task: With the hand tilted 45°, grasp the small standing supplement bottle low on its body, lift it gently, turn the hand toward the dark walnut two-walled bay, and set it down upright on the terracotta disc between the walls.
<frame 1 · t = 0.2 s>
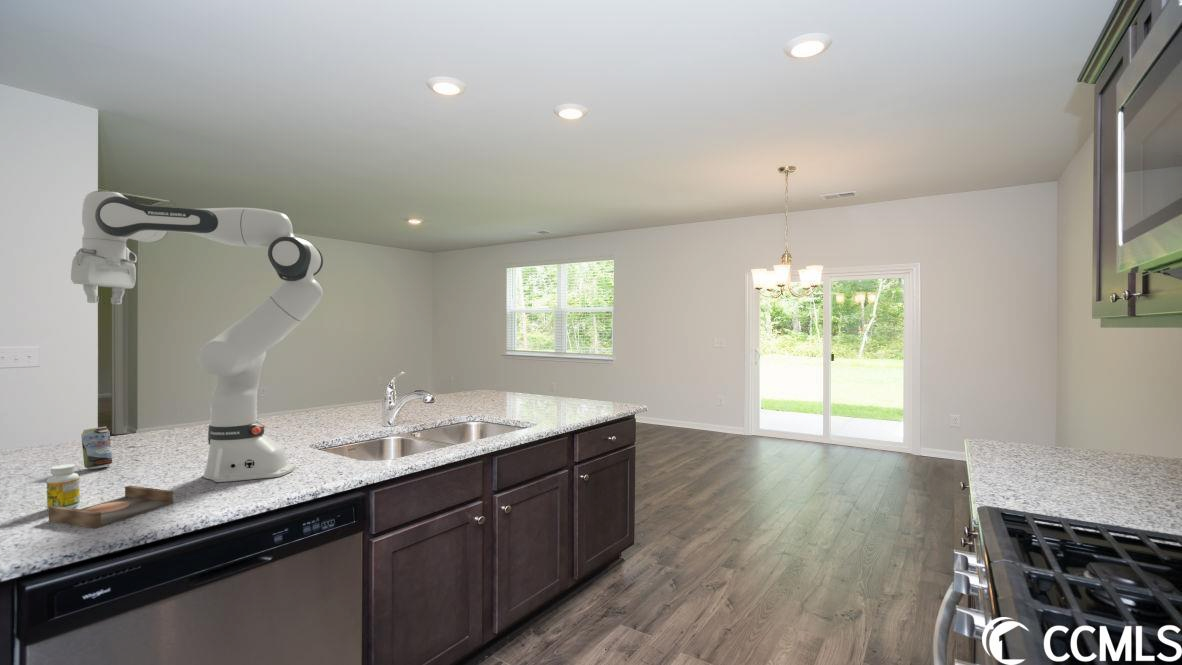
hand: (105, 303, 145), 48 cm above the counter, tool pointing down, fingers open, 8 cm apart
supplement bottle: (63, 508, 124), on the counter
walled bay: (113, 511, 122), on the counter
beverage can: (97, 468, 156), on the counter
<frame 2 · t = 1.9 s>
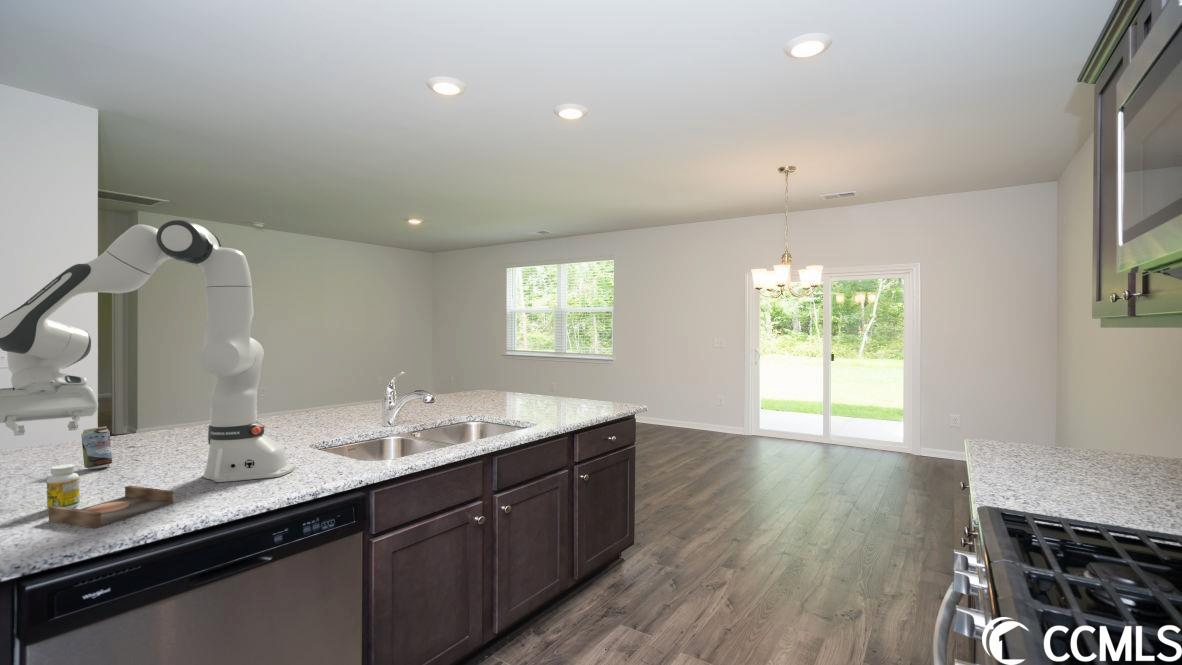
hand: (47, 431, 131), 16 cm above the counter, tool tilted 45°, fingers open, 8 cm apart
nothing on the counter moved.
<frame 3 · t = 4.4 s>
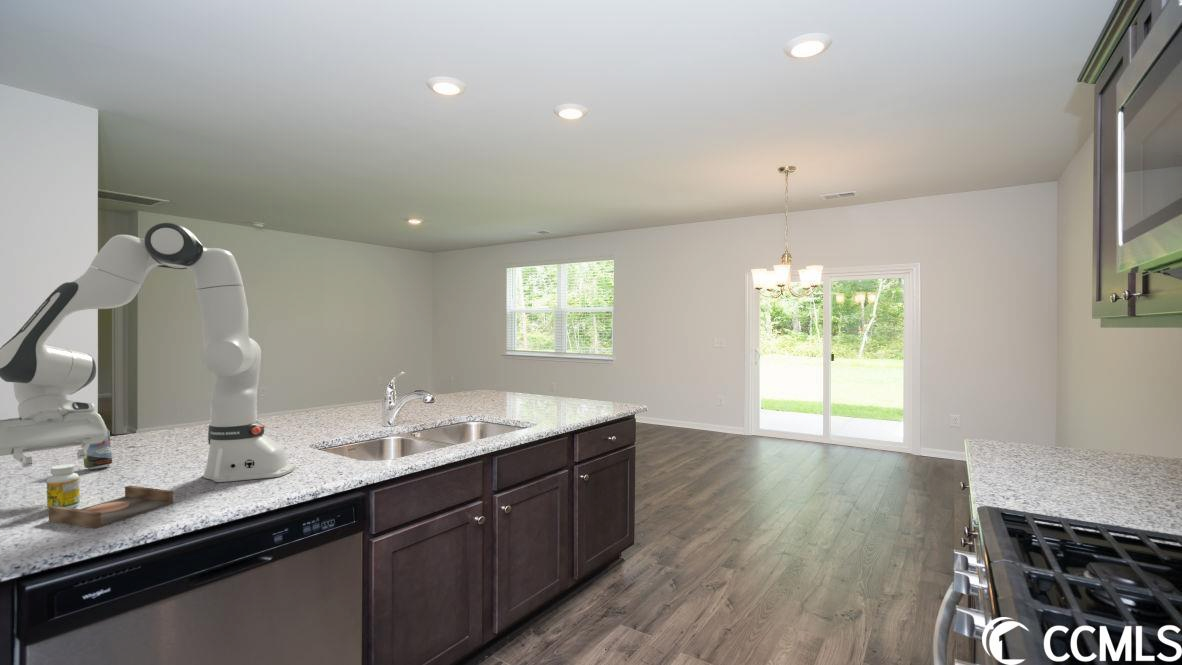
hand: (56, 461, 128), 10 cm above the counter, tool tilted 45°, fingers open, 8 cm apart
nothing on the counter moved.
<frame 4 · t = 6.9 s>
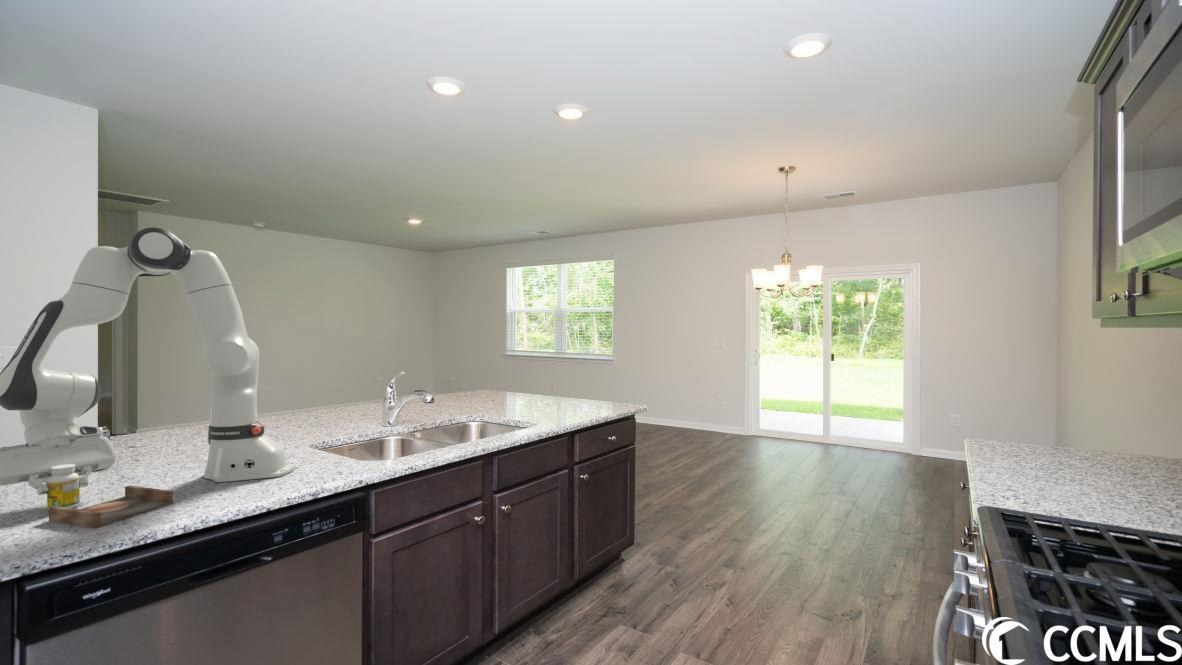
hand: (64, 489, 124), 4 cm above the counter, tool tilted 45°, fingers closed on supplement bottle, 5 cm apart
supplement bottle: (63, 508, 124), on the counter, touching gripper
everything else where it was.
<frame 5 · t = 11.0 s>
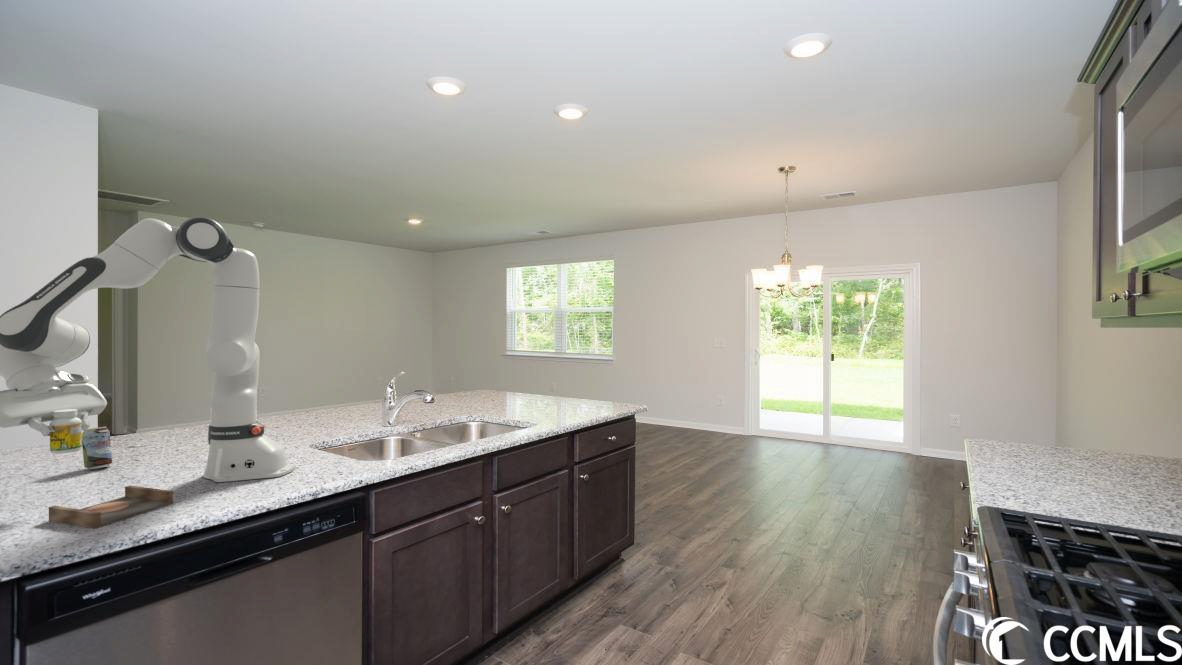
hand: (67, 431, 125), 17 cm above the counter, tool tilted 45°, fingers closed on supplement bottle, 5 cm apart
supplement bottle: (66, 452, 126), point 12 cm above the counter, touching gripper
everything else where it was.
when the fingers open (6 cm above the counter, at t = 14.9 s): supplement bottle stays where it is, resting on walled bay.
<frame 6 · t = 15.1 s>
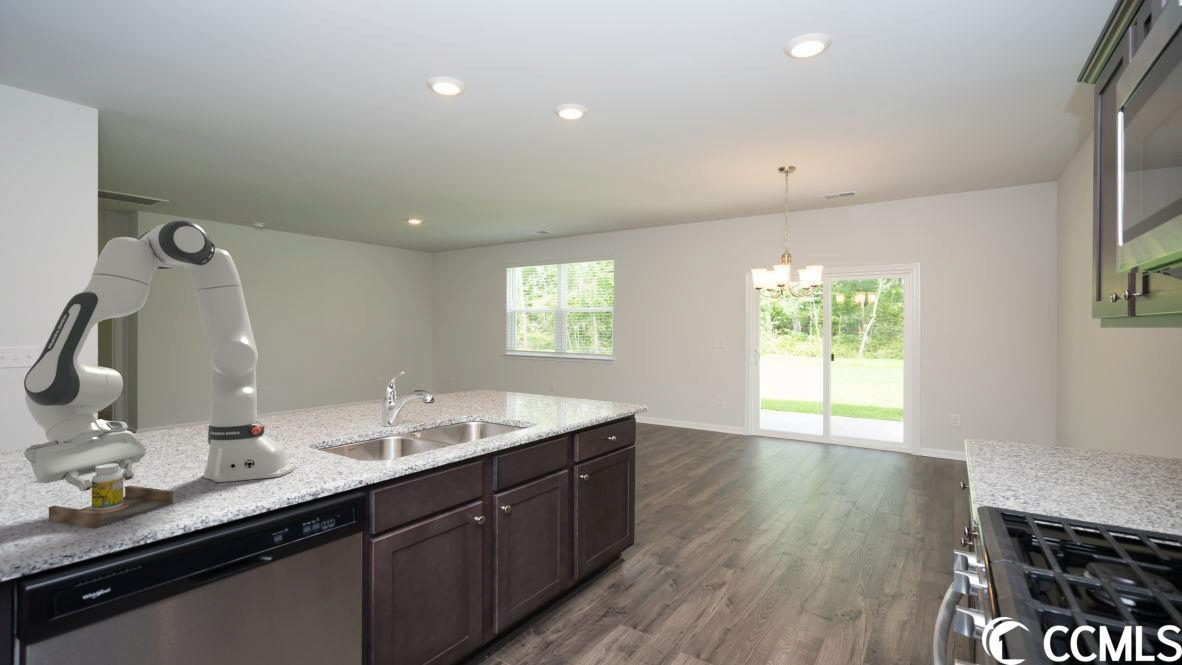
hand: (109, 483, 122), 6 cm above the counter, tool tilted 45°, fingers open, 7 cm apart
supplement bottle: (107, 508, 122), point 1 cm above the counter, touching walled bay
everything else where it was.
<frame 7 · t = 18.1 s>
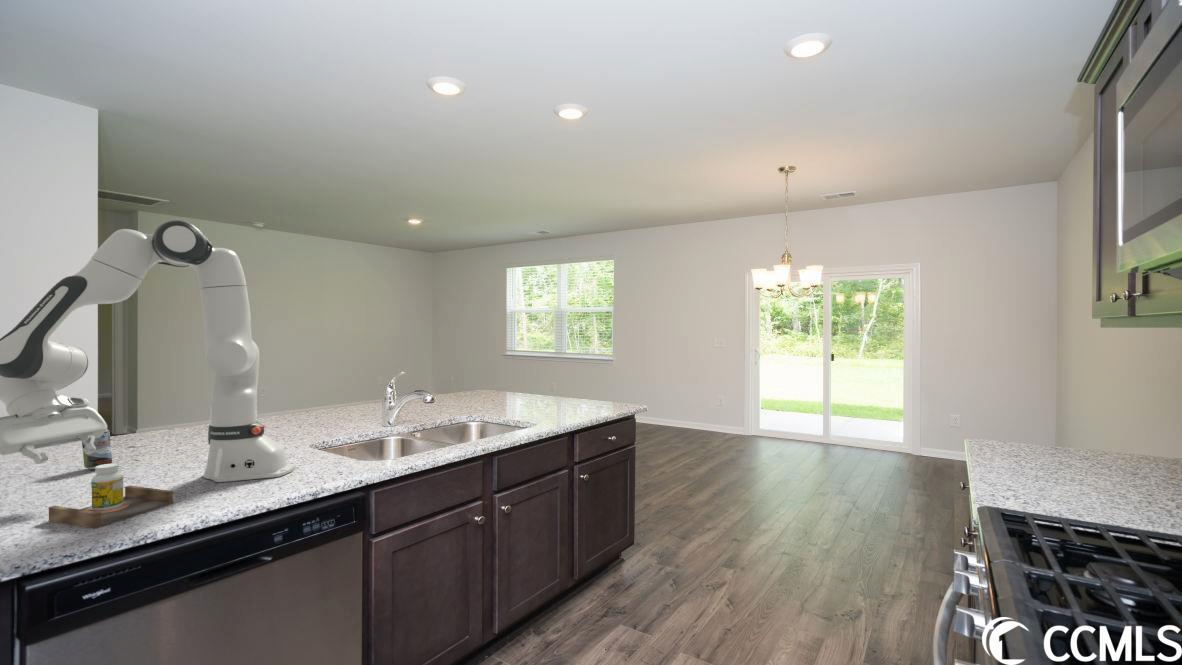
hand: (68, 456, 125), 11 cm above the counter, tool tilted 45°, fingers open, 8 cm apart
nothing on the counter moved.
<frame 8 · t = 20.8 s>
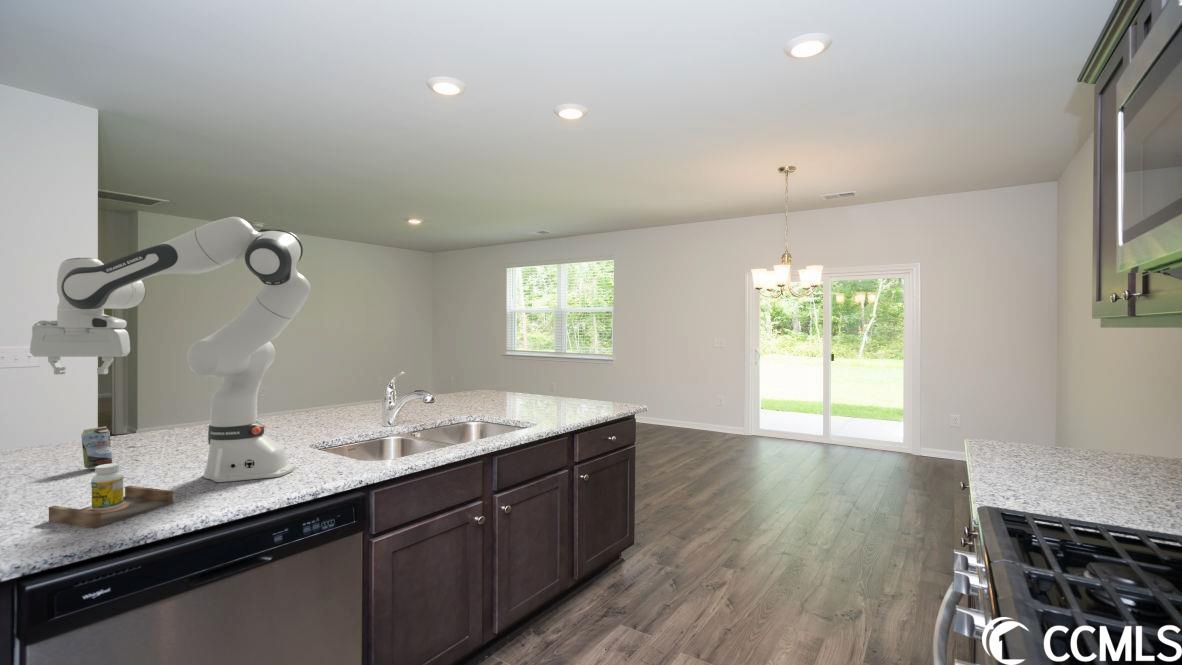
hand: (81, 374, 140), 29 cm above the counter, tool pointing down, fingers open, 8 cm apart
nothing on the counter moved.
at the end: supplement bottle 0.1 cm from the target spot, point 0.6 cm above the counter; supplement bottle tilted 0°; the gripper is holding nothing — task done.
